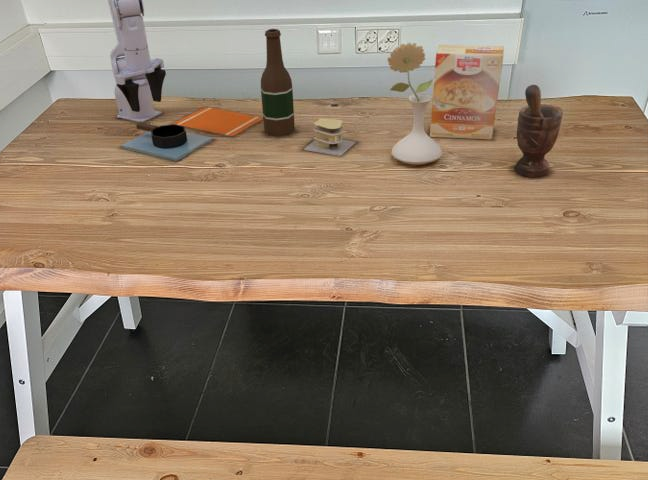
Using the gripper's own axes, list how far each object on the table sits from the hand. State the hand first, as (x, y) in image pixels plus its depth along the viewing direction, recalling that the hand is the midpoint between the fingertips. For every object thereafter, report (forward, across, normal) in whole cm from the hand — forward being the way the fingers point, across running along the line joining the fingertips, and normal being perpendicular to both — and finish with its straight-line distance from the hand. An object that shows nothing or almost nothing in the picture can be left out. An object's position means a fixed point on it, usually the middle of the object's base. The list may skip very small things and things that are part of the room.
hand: (146, 106), depth 168 cm
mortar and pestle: (+8, +23, -90) cm, 93 cm away
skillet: (+8, -1, -4) cm, 9 cm away
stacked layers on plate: (+8, +16, -43) cm, 46 cm away
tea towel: (+8, +17, -8) cm, 21 cm away
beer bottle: (+8, +18, -27) cm, 33 cm away
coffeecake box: (+8, +38, -68) cm, 78 cm away
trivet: (+8, -1, -6) cm, 10 cm away
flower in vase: (+8, +18, -64) cm, 67 cm away
